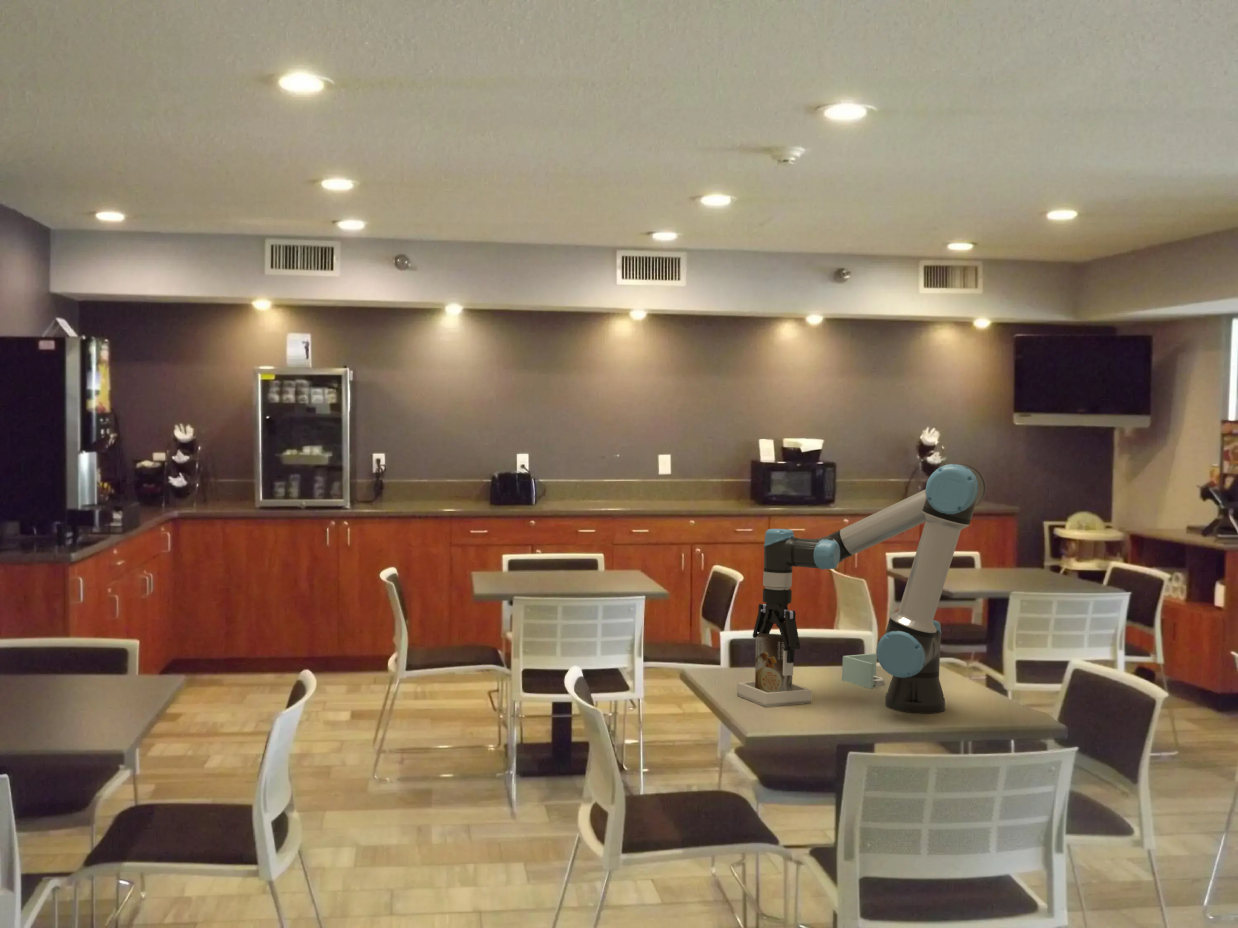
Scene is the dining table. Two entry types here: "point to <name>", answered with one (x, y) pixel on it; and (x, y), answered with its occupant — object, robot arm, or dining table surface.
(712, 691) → the dining table surface
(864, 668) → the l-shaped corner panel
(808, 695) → the white square tray
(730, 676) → the dining table surface
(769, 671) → the coffee box
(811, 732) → the dining table surface
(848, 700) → the dining table surface
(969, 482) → the robot arm
